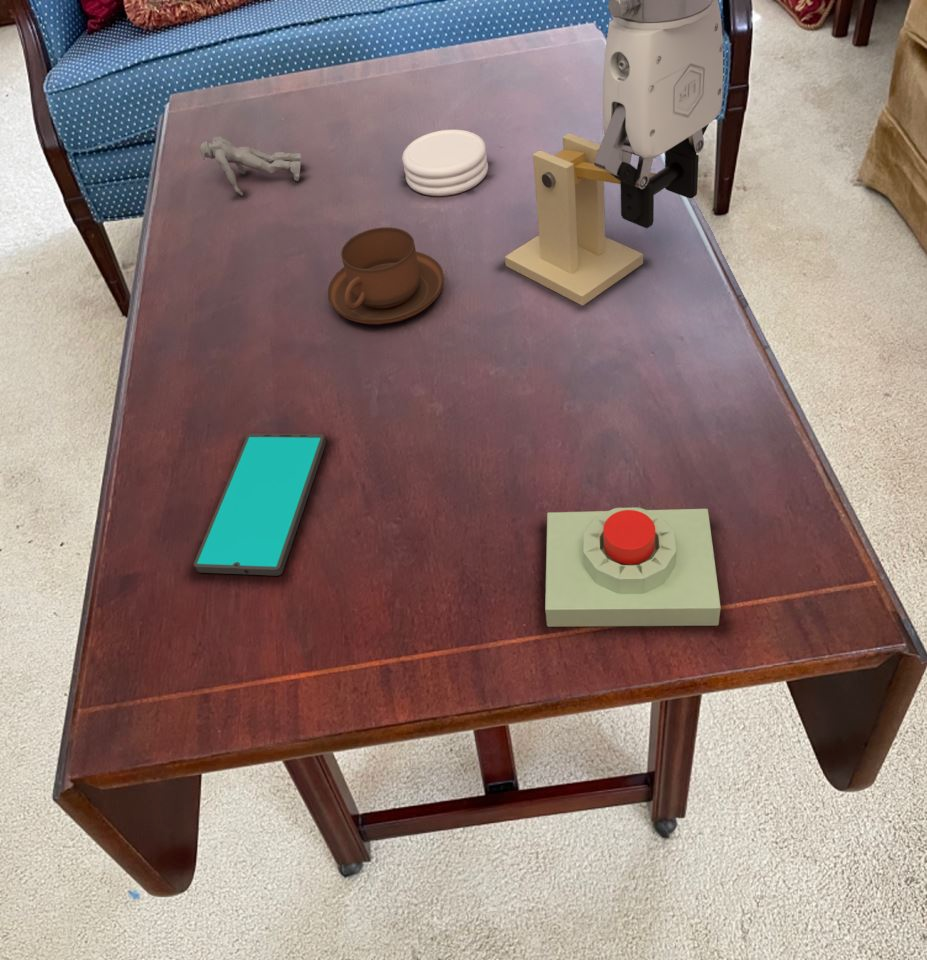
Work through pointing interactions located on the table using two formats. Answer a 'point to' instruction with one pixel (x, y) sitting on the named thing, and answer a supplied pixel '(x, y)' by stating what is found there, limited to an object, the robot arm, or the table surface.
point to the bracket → (571, 231)
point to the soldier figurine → (248, 159)
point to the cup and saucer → (384, 278)
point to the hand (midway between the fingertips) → (659, 205)
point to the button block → (631, 573)
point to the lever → (595, 173)
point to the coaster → (445, 162)
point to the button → (629, 537)
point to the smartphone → (261, 505)
